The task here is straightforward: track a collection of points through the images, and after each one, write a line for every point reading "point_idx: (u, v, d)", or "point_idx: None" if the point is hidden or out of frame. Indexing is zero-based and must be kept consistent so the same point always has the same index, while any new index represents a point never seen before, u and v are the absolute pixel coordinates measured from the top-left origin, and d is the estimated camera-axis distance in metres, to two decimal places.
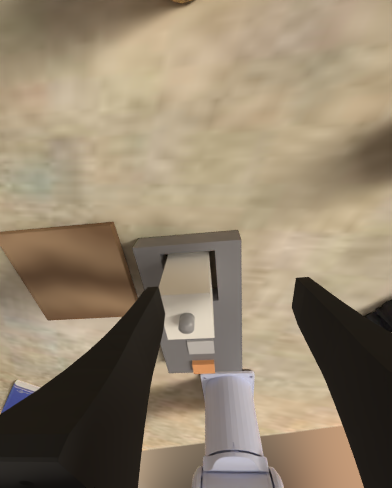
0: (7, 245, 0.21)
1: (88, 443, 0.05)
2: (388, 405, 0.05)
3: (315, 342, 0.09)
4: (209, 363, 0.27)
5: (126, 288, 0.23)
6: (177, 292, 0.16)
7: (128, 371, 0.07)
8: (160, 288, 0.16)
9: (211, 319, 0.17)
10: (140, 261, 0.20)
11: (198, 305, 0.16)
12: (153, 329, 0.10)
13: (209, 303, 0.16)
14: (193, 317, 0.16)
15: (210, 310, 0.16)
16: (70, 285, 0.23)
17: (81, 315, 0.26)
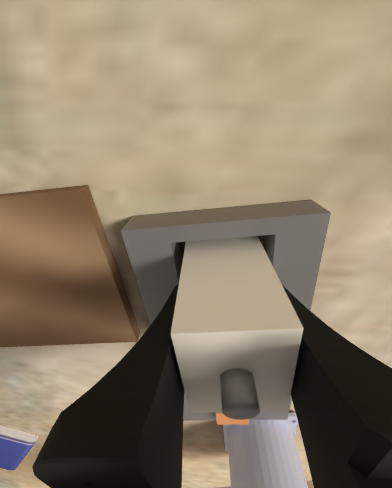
0: None
1: (152, 443, 0.05)
2: (326, 406, 0.06)
3: None
4: None
5: (113, 300, 0.14)
6: (220, 324, 0.07)
7: (172, 370, 0.07)
8: (179, 314, 0.07)
9: (290, 381, 0.08)
10: (136, 255, 0.11)
11: (268, 355, 0.07)
12: None
13: (295, 351, 0.07)
14: (252, 379, 0.07)
15: (293, 364, 0.07)
16: (23, 296, 0.14)
17: (46, 340, 0.17)
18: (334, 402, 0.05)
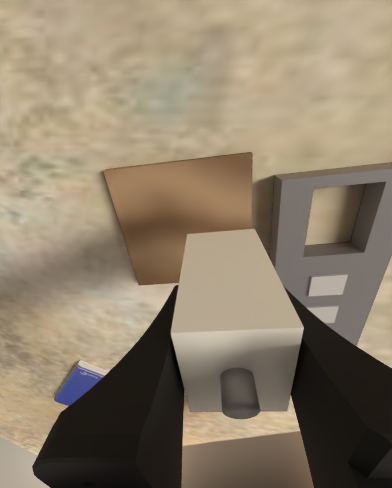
0: (116, 184, 0.18)
1: (152, 443, 0.05)
2: (326, 406, 0.06)
3: None
4: None
5: None
6: (220, 323, 0.07)
7: (171, 370, 0.07)
8: (179, 313, 0.07)
9: (290, 380, 0.08)
10: (286, 199, 0.16)
11: (268, 355, 0.07)
12: None
13: (295, 350, 0.07)
14: (253, 378, 0.07)
15: (293, 364, 0.07)
16: (178, 238, 0.20)
17: None
18: (334, 402, 0.05)
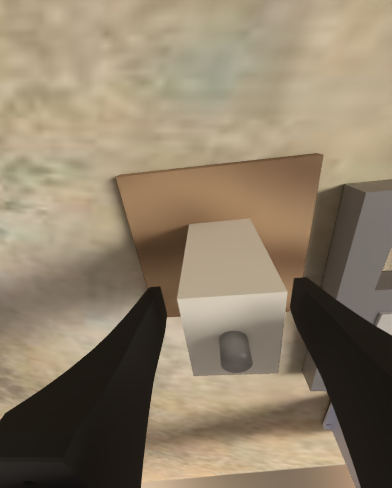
0: (133, 195, 0.13)
1: (92, 443, 0.05)
2: (384, 405, 0.05)
3: (312, 342, 0.09)
4: None
5: (296, 268, 0.15)
6: (218, 291, 0.08)
7: (131, 371, 0.07)
8: (183, 285, 0.08)
9: (279, 342, 0.09)
10: (366, 217, 0.12)
11: (259, 318, 0.08)
12: (155, 329, 0.10)
13: (281, 313, 0.08)
14: (247, 339, 0.08)
15: (281, 326, 0.08)
16: None
17: None
18: None
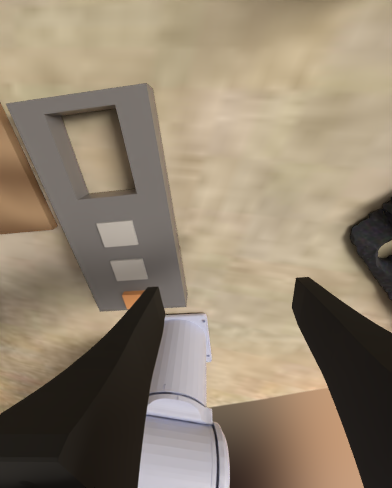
0: None
1: (88, 443, 0.05)
2: (388, 405, 0.05)
3: (315, 341, 0.09)
4: None
5: (25, 185, 0.18)
6: None
7: (128, 371, 0.07)
8: None
9: None
10: (22, 127, 0.15)
11: None
12: (153, 329, 0.10)
13: None
14: None
15: None
16: None
17: None
18: None
